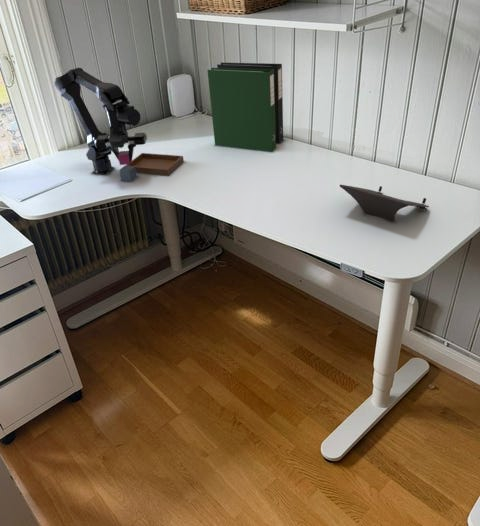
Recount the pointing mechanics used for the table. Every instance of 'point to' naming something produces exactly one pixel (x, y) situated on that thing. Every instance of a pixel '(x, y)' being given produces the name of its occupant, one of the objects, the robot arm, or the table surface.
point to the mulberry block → (124, 158)
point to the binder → (247, 105)
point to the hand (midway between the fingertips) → (125, 161)
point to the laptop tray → (379, 202)
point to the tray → (156, 163)
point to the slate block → (128, 173)
